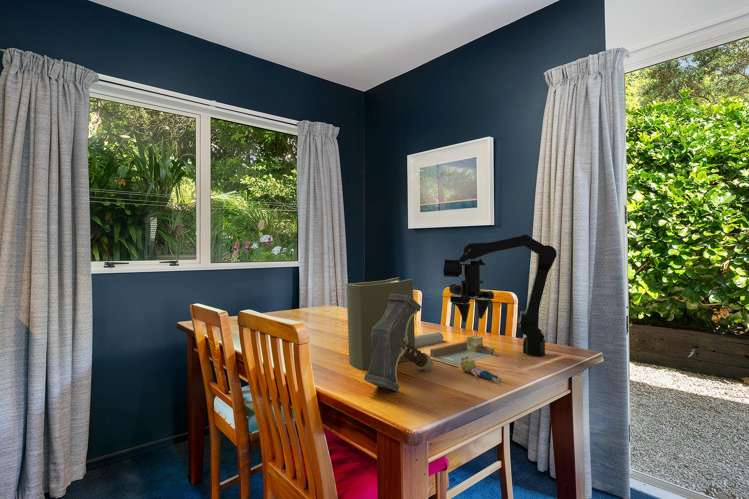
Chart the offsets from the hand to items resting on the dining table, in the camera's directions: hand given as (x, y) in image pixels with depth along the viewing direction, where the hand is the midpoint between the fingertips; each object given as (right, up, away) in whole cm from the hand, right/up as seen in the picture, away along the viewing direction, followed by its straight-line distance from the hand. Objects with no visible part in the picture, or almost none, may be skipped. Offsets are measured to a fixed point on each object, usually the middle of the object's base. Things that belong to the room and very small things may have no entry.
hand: (472, 320), depth 152 cm
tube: (-19, -12, +9) cm, 24 cm away
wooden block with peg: (+3, -11, -2) cm, 12 cm away
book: (-34, -13, -11) cm, 38 cm away
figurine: (-4, -13, -27) cm, 30 cm away
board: (-5, -12, -6) cm, 14 cm away
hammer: (-27, -13, -31) cm, 43 cm away
